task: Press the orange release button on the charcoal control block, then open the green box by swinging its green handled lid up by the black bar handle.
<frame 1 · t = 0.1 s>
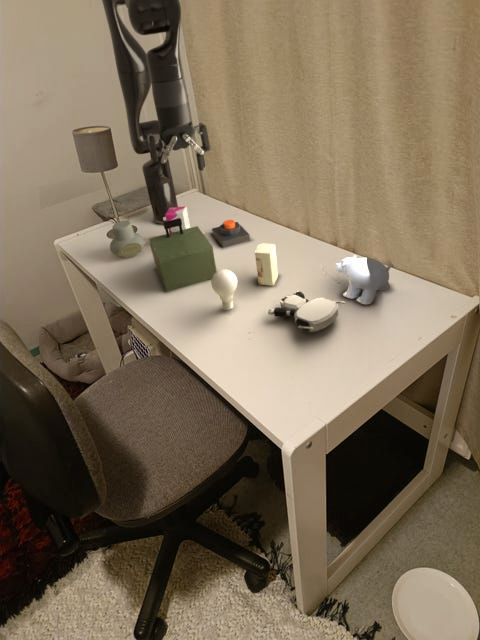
hand: (184, 173, 108), 29 cm above the table, tool pointing down, fingers open, 8 cm apart
white animal-shaped figure: (361, 290, 111), on the table
supplement box: (182, 243, 143), on the table
air freshener: (130, 253, 142), on the table
control block: (230, 237, 142), on the table
green box: (186, 272, 128), on the table
green handled lid: (178, 236, 121), point 12 cm above the table, hinge at 0.0°
cream cardboard box: (268, 281, 120), on the table
robot toy: (305, 319, 104), on the table
release button: (229, 224, 140), point 5 cm above the table, slide at 0.2 cm
lightbulb: (228, 309, 111), on the table
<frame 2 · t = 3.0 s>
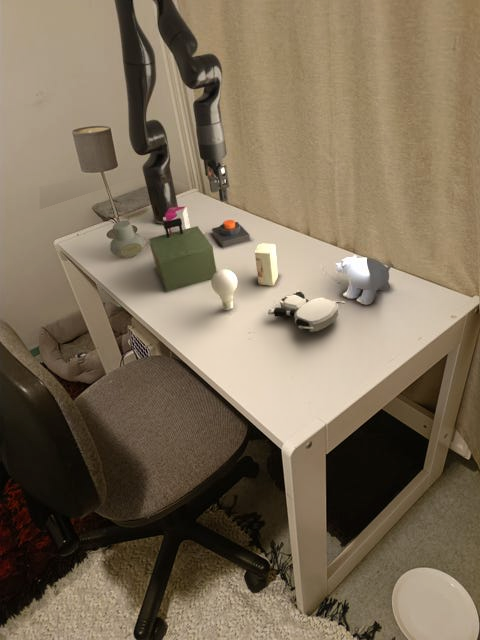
hand: (219, 196, 130), 16 cm above the table, tool pointing down, fingers open, 8 cm apart
nothing on the table moved.
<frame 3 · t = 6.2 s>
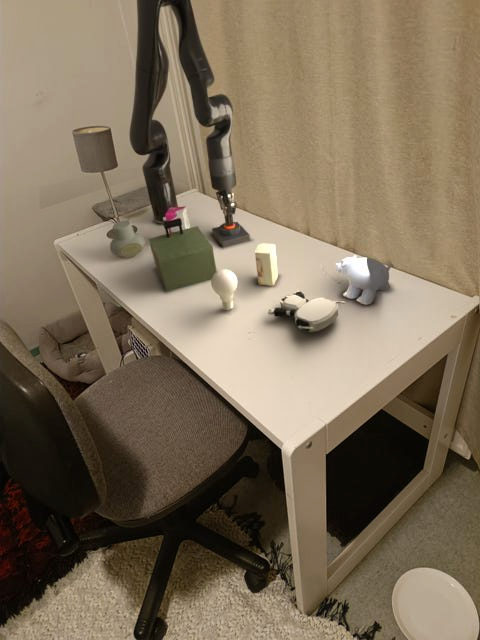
hand: (229, 224, 140), 4 cm above the table, tool pointing down, fingers closed
release button: (229, 227, 140), point 4 cm above the table, slide at -0.8 cm, touching gripper
everything else where it was.
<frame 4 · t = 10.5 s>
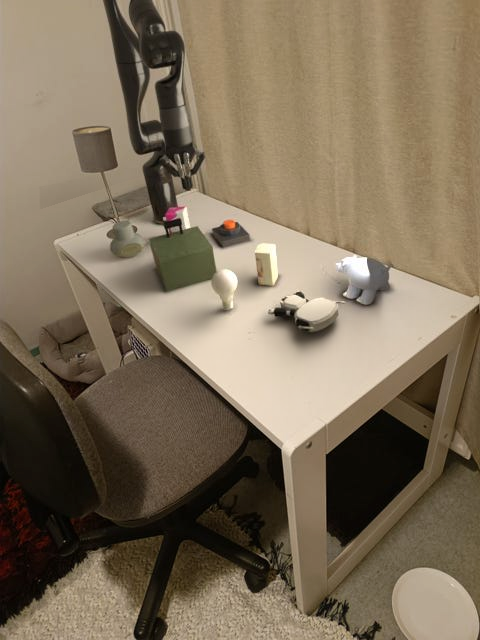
hand: (188, 189, 123), 21 cm above the table, tool pointing down, fingers closed
release button: (229, 224, 140), point 5 cm above the table, slide at 0.1 cm
everything else where it was.
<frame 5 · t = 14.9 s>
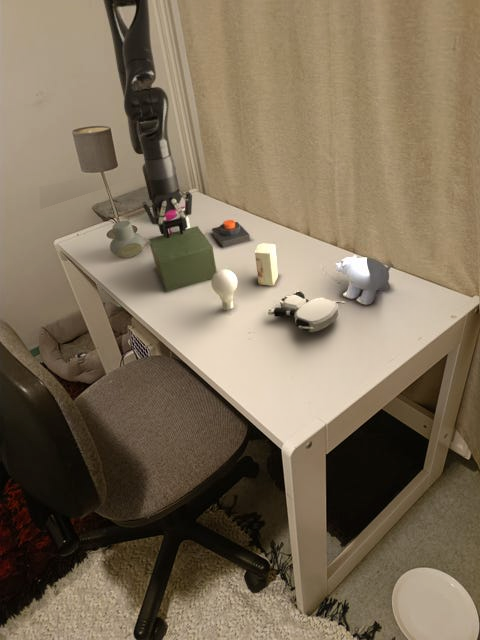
hand: (174, 232, 125), 11 cm above the table, tool pointing down, fingers closed on green handled lid, 5 cm apart
green handled lid: (178, 236, 121), point 12 cm above the table, hinge at 0.0°, touching gripper
everything else where it was.
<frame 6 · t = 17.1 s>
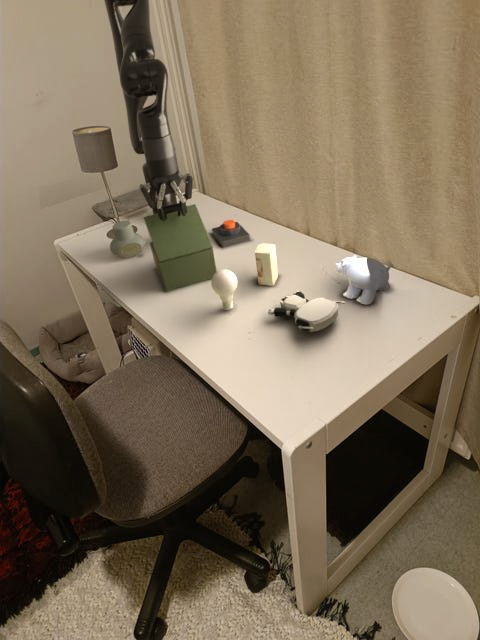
hand: (173, 217, 118), 17 cm above the table, tool pointing down, fingers closed on green handled lid, 5 cm apart
green handled lid: (177, 227, 117), point 15 cm above the table, hinge at 32.2°, touching gripper
everything else where it was.
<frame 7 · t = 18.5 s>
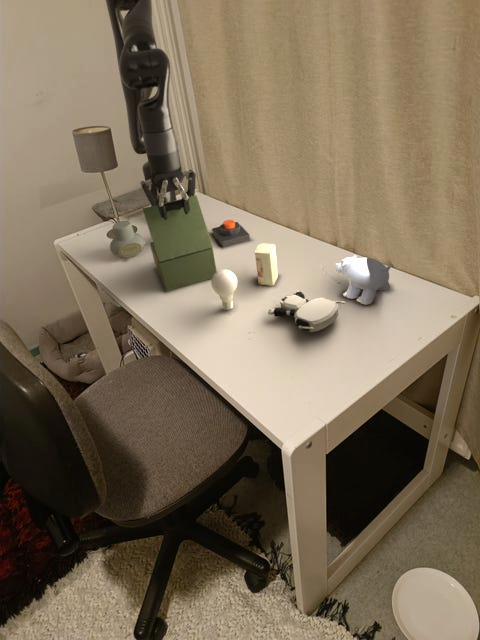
hand: (175, 215, 114), 19 cm above the table, tool pointing down, fingers closed on green handled lid, 5 cm apart
green handled lid: (178, 226, 114), point 17 cm above the table, hinge at 52.2°, touching gripper
everything else where it was.
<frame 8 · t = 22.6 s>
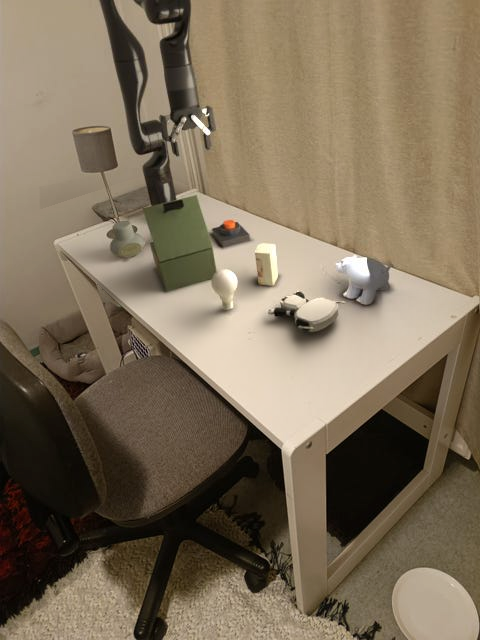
hand: (192, 152, 119), 30 cm above the table, tool pointing down, fingers open, 8 cm apart
green handled lid: (178, 226, 114), point 17 cm above the table, hinge at 52.9°
everything else where it was.
at the end: release button pushed in 1.1 cm at the most during the clip, back to where it started at the end; release button slide at 0.1 cm; green handled lid at +53° (first picture: +0°) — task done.
